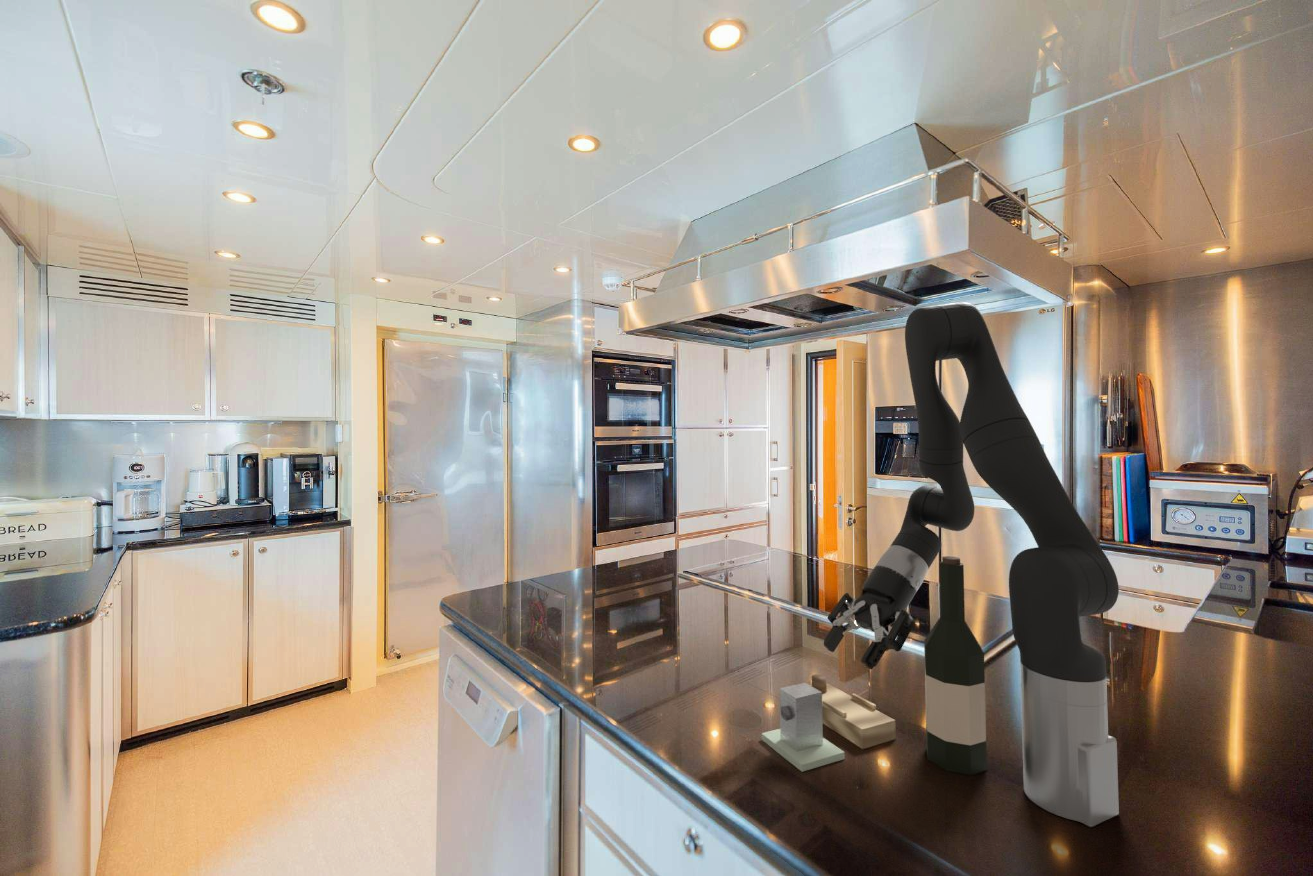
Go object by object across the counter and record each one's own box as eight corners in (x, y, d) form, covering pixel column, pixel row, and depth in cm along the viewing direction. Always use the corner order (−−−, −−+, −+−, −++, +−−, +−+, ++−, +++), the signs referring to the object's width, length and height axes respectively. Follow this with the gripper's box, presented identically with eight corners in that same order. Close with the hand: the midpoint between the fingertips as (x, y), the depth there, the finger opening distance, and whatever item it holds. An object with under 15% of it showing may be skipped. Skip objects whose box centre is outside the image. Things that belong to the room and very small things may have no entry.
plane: (895, 739, 89) (895, 705, 89) (862, 749, 86) (861, 713, 87) (827, 699, 104) (826, 670, 104) (796, 706, 101) (796, 676, 101)
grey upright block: (822, 744, 86) (821, 692, 86) (793, 753, 84) (792, 699, 84) (805, 732, 90) (805, 682, 90) (777, 740, 87) (776, 688, 87)
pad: (844, 758, 84) (844, 752, 84) (801, 771, 80) (801, 764, 80) (801, 729, 93) (801, 723, 93) (761, 739, 89) (761, 733, 90)
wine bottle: (916, 759, 83) (911, 558, 84) (936, 738, 89) (932, 550, 90) (978, 782, 77) (972, 565, 78) (995, 758, 83) (990, 557, 84)
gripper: (852, 557, 101) (803, 630, 96) (919, 572, 88) (866, 657, 83) (875, 584, 103) (828, 656, 98) (943, 602, 90) (893, 686, 85)
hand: (846, 656), depth 90 cm, fingers open, 8 cm apart
